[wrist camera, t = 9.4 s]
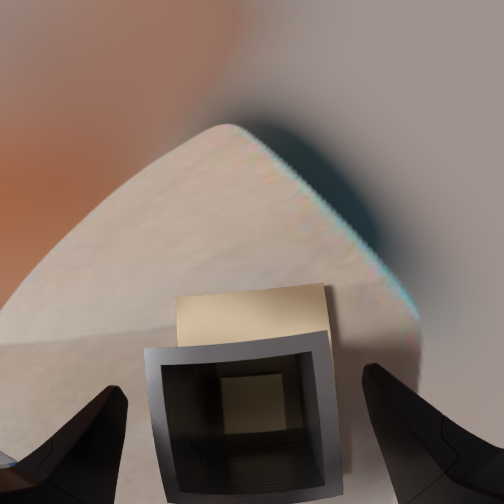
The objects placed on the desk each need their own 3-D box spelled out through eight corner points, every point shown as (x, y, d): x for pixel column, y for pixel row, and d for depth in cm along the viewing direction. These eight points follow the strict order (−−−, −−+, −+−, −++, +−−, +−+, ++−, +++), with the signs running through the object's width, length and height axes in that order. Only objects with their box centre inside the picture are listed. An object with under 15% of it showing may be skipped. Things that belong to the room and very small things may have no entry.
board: (336, 471, 14) (350, 496, 10) (198, 479, 15) (179, 504, 11) (320, 288, 20) (331, 268, 15) (183, 301, 20) (159, 286, 16)
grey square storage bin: (313, 433, 15) (343, 494, 6) (216, 442, 15) (167, 502, 7) (302, 342, 17) (327, 329, 9) (206, 353, 17) (143, 347, 9)
